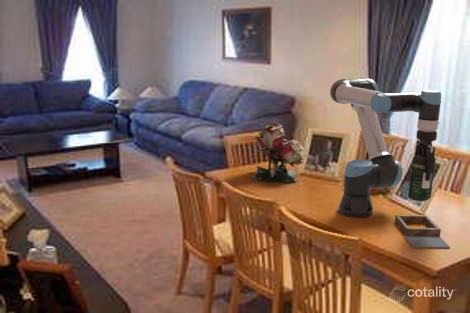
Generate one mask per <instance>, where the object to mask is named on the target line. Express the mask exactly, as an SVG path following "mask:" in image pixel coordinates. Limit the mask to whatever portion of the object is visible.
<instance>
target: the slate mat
mask: <svg viewBox="0 0 470 313" xmlns="http://www.w3.org/2000/svg"><path fill="white" fill-rule="evenodd" d="M403 238H404V239H405V240H406V241H407V243H408V244H409V245H410V247H411V248H412V249H450V248H451V246H450V245H449V244H448V243H446V241H445V240H444V239H443V238H442V237H441V235H440V236H406V235H404V237H403Z"/></svg>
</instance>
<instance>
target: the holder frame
mask: <svg viewBox="0 0 470 313" xmlns="http://www.w3.org/2000/svg"><path fill="white" fill-rule="evenodd" d="M394 222H395V224H396V226H398V228H399V229H400V231H402V232H403V234H404V236H440V237H441V228H440V227H439V226H438V225H437V224H436V223H435V222H434V221H433V220H432V219H431V218H430V217H429V216H428V215H426V214H425V215H424V214H421V215H417V214H414V215H413V214H395V216H394ZM408 223H409V224H424V225H426V227H410V226H408V225H407V224H408Z"/></svg>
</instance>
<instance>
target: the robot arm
mask: <svg viewBox="0 0 470 313" xmlns="http://www.w3.org/2000/svg"><path fill="white" fill-rule="evenodd" d="M329 95H330V97H331V100H333V101H334V102H335V103H337V104H342V105H346V104H350V105H351V106H350V107H351V109H352V110H353V111H355V113H356V115H357V119H358V122H359V126H360V129H361V133H362V136H363V139H364V140H363V141H364V143H365V146H366V149H367V154H368V157H369V158H368V159H364V158H363V159H360V158H359V159H354V160H351V161H349V162H347V163H346V164H345V168H344V169H345V170H344V181H343V182H344V184H343V195H342V198H341V200H340V202H339V204H338V212H339V214H341V215H344V216H346V217H351V218H360V219H361V218H368V217H371V216H373V214H374V206H373V202H372V199H371V198H372V197H371V190H373V189H379V188H391V187H394V186H398V184H400V183H401V181H402V178H403V174H404V172H403V165H402V164H401V162H400V161H398V160H397V159H396V160H395V159H394V155H393V154H392V153H390V152H389V151H388V147H387V144H386V141H385V137H384V134H383V130H382V128H381V124H380V120H379V117H378V114H379V113H380V114H385V113H401V112H403V113H404V112H413V113H414V112H415V113H417V114H418V118H417V125H416V126H417V129H416V146H415V151H414V156H417V155H420V154H422V155H423V156H424V157H425V158H426V159H427V162H426V161H425V171H423V182H422V188H429V187H430V178H431V173H433V174H434V173H435V167H434V156H435V152H436V147H434V146H433V142H435V141H436V140H437V138H438V131H437V130H438V128H439V124H440V121H439V120H440V119H439V118H440V113H441V104H442V92H440V91H439V90H433V89H423V90H422V91H421V92H420V93H419V92H414V91H403V92H397V93H396V92H395V93H394V92H393V93H392V92H391V93H386V92H381V91H379V86H378V85H377V83H376V81H374V80H373V79H372V78H366V77H363V78H362V77H360V78H342V79H341V78H340V79H338V80H336V81H335V82H333V83H332V85H331V86H330V90H329ZM377 113H378V114H377ZM414 156H413V157H414Z"/></svg>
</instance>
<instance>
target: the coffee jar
mask: <svg viewBox="0 0 470 313" xmlns="http://www.w3.org/2000/svg"><path fill="white" fill-rule="evenodd" d="M436 159H437V158H436V157H435V155H434V168H435V166H436V161H437V160H436ZM425 161H426V162H427V159H426V158H425V157H424V156H423V155H422V154H420V155H417V156H413V157H412V161H411V174H410V181H409V188H408V193H407V194H408V196H407V197H408V198H409V199H411V200H413V201H416V202H418V201H419V202H426V201H428V200H430V199H431V198H432V191H433V183H434V182H433V181H434V173H431V178H430V187H429V188H422V182H423V171H425Z"/></svg>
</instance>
